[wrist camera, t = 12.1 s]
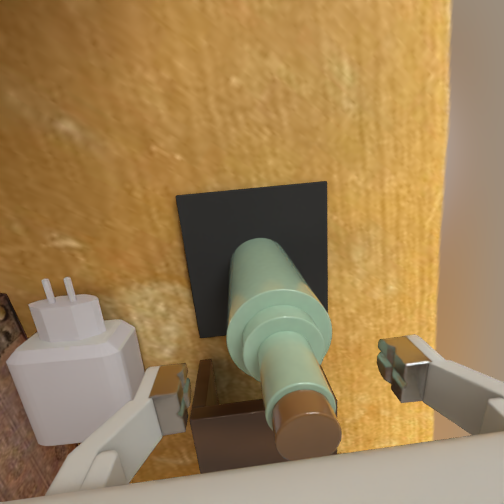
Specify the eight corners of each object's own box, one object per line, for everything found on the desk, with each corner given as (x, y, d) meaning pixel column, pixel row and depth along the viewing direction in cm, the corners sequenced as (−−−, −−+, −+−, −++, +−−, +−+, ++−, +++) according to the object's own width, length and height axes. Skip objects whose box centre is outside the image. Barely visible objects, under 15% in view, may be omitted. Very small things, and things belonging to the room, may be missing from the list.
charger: (125, 264, 24) (152, 394, 28) (20, 272, 23) (65, 403, 27) (99, 284, 19) (137, 436, 23) (-31, 295, 19) (31, 448, 23)
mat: (176, 195, 22) (175, 195, 22) (324, 181, 23) (327, 181, 22) (200, 335, 26) (199, 338, 26) (326, 320, 27) (328, 323, 26)
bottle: (226, 241, 23) (210, 380, 7) (287, 234, 23) (400, 356, 8) (233, 297, 25) (231, 510, 9) (290, 291, 25) (388, 487, 9)
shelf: (200, 360, 27) (185, 437, 19) (312, 346, 28) (344, 416, 20) (214, 444, 31) (208, 540, 23) (314, 430, 31) (342, 520, 23)
